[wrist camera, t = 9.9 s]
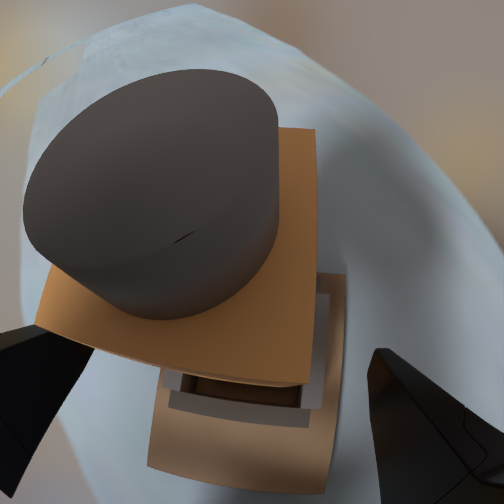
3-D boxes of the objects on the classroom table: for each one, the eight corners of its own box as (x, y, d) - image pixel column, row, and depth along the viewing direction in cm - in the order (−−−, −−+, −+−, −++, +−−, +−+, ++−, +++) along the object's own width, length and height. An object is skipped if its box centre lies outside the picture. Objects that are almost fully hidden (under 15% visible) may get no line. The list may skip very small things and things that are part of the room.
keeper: (321, 488, 13) (332, 512, 9) (154, 462, 14) (125, 476, 10) (341, 281, 19) (355, 254, 15) (188, 268, 21) (169, 239, 17)
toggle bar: (281, 387, 15) (337, 378, 1) (214, 379, 16) (-37, 286, 2) (288, 323, 17) (320, 54, 3) (224, 316, 17) (87, 79, 4)
